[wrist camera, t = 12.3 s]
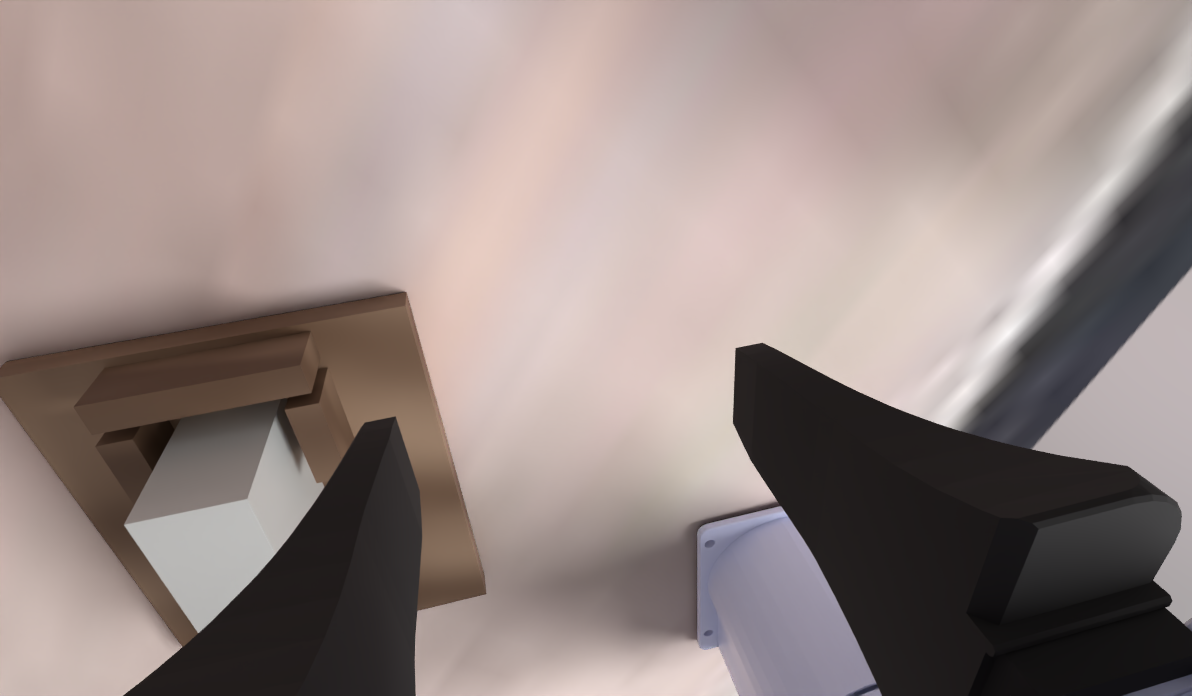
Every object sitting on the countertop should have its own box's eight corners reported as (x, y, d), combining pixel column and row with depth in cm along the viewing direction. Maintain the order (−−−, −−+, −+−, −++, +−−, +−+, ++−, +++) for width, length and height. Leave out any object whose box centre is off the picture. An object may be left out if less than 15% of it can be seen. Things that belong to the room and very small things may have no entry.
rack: (484, 575, 29) (489, 634, 26) (202, 643, 27) (179, 712, 25) (406, 292, 21) (403, 336, 19) (6, 361, 19) (-56, 420, 17)
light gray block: (367, 587, 26) (355, 706, 22) (291, 605, 26) (264, 729, 22) (283, 391, 21) (247, 499, 17) (186, 409, 20) (124, 524, 16)
